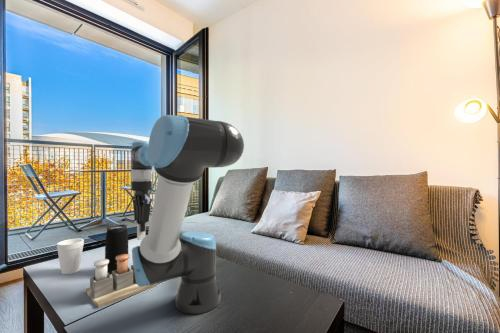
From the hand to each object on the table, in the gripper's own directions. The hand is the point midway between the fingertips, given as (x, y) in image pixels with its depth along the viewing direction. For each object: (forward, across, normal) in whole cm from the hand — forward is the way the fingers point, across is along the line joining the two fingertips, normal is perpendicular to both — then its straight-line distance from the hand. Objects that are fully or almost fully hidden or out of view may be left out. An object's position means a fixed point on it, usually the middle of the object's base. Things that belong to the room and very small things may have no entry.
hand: (141, 239), depth 95 cm
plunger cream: (+12, 0, +14) cm, 18 cm away
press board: (+17, 0, +7) cm, 19 cm away
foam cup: (+18, +33, +17) cm, 41 cm away
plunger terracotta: (+12, 0, +7) cm, 14 cm away
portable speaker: (+18, +19, +3) cm, 26 cm away
